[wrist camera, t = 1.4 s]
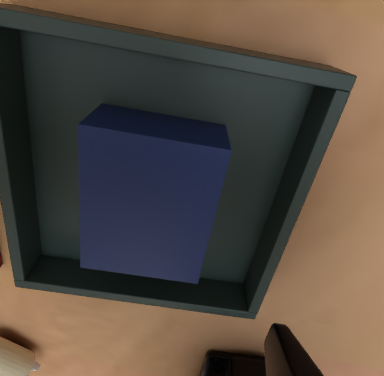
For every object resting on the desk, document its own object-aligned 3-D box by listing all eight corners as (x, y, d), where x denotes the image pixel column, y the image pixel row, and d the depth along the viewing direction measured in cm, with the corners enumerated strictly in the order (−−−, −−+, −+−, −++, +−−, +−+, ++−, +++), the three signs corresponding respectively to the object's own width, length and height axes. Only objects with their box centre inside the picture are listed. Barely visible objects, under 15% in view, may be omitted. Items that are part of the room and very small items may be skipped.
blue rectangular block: (198, 243, 18) (198, 284, 15) (98, 228, 18) (79, 267, 15) (226, 124, 15) (232, 150, 12) (101, 102, 14) (77, 123, 11)
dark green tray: (248, 284, 21) (255, 319, 18) (37, 254, 20) (14, 287, 17) (330, 65, 14) (358, 75, 11) (10, 3, 13) (-35, 0, 10)
